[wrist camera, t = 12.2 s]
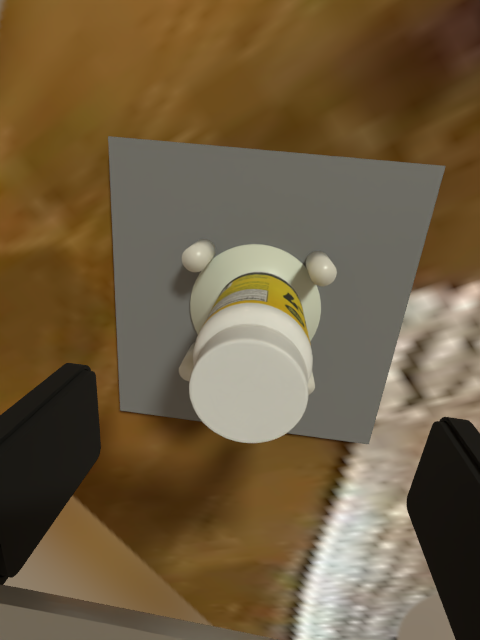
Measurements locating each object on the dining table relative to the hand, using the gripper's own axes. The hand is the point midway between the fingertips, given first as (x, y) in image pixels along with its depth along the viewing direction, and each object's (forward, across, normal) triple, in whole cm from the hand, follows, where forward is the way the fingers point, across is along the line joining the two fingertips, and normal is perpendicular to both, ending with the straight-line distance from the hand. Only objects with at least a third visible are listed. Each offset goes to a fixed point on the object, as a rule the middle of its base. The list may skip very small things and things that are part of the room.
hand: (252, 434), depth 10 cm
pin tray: (+12, +1, 0) cm, 12 cm away
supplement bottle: (+10, +1, 0) cm, 10 cm away
